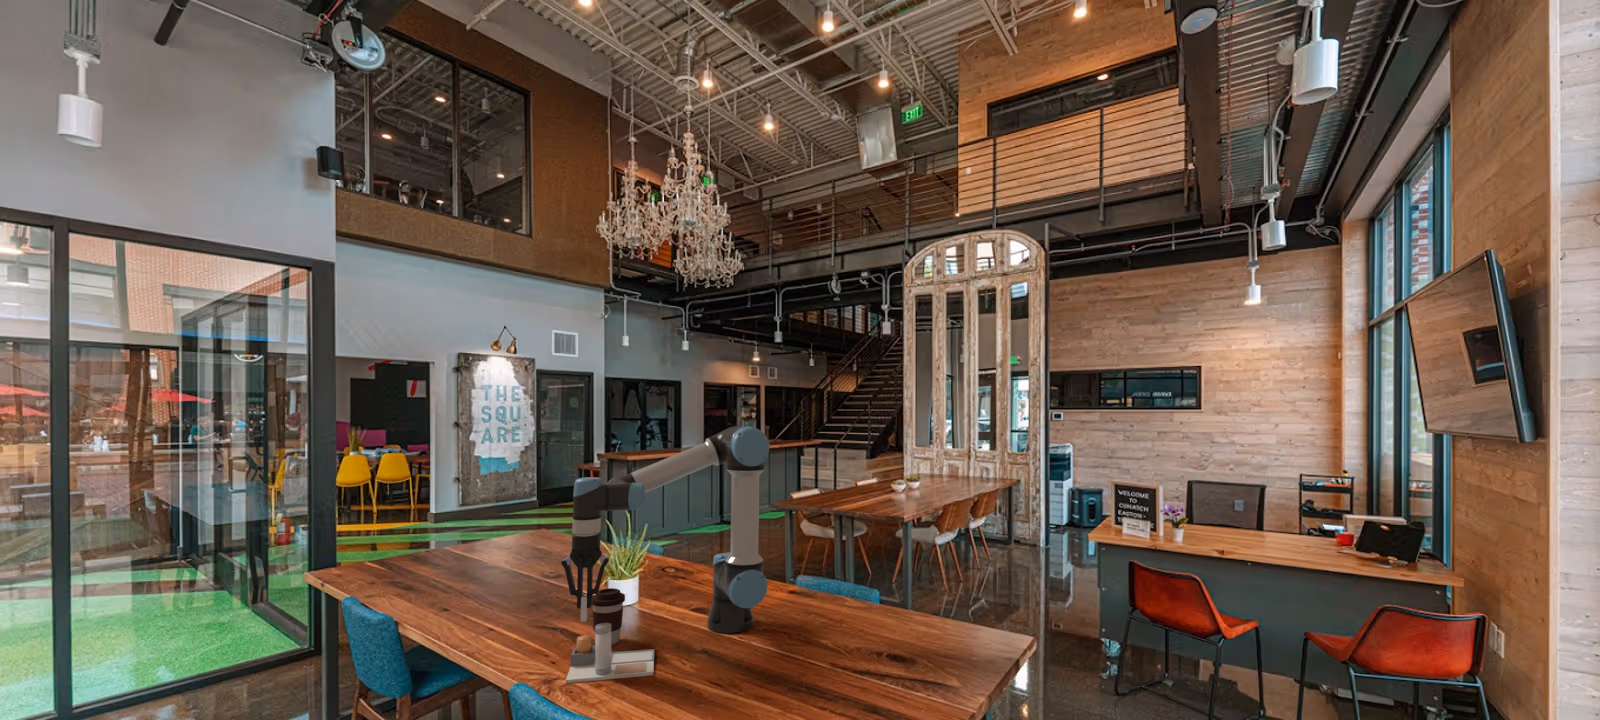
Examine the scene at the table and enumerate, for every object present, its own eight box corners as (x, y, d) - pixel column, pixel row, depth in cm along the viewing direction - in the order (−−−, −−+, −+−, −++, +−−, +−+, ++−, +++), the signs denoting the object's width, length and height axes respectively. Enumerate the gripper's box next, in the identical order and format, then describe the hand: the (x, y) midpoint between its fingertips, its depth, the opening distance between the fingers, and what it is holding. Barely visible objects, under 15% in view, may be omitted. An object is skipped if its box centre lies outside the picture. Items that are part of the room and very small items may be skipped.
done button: (591, 653, 174) (592, 634, 174) (590, 658, 170) (590, 639, 171) (577, 654, 173) (577, 635, 173) (575, 659, 169) (575, 640, 170)
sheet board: (654, 651, 180) (654, 638, 180) (653, 675, 164) (653, 660, 165) (574, 658, 175) (574, 644, 176) (565, 683, 160) (566, 668, 160)
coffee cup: (614, 649, 182) (615, 597, 183) (583, 647, 184) (584, 595, 185) (630, 637, 192) (630, 587, 193) (600, 634, 193) (601, 585, 195)
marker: (612, 667, 167) (612, 622, 168) (610, 674, 163) (610, 627, 164) (596, 669, 166) (596, 623, 167) (594, 676, 162) (594, 628, 163)
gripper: (611, 530, 179) (609, 613, 177) (564, 531, 176) (561, 617, 175) (609, 535, 172) (607, 622, 170) (559, 537, 169) (556, 626, 167)
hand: (583, 619), depth 172 cm, fingers closed
